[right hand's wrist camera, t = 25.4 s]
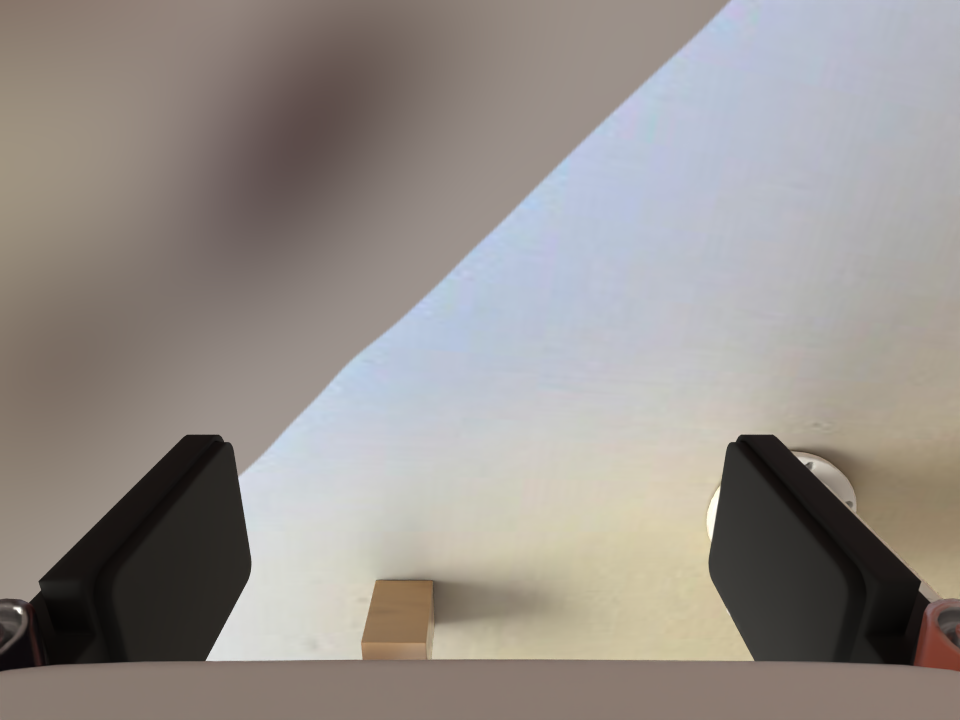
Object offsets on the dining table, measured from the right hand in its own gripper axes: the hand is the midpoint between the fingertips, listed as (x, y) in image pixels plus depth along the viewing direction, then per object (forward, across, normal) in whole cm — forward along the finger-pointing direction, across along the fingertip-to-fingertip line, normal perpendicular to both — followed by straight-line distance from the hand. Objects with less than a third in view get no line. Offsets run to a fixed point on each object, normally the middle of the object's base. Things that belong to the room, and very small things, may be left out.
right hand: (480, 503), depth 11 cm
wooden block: (+35, +7, +34) cm, 50 cm away
